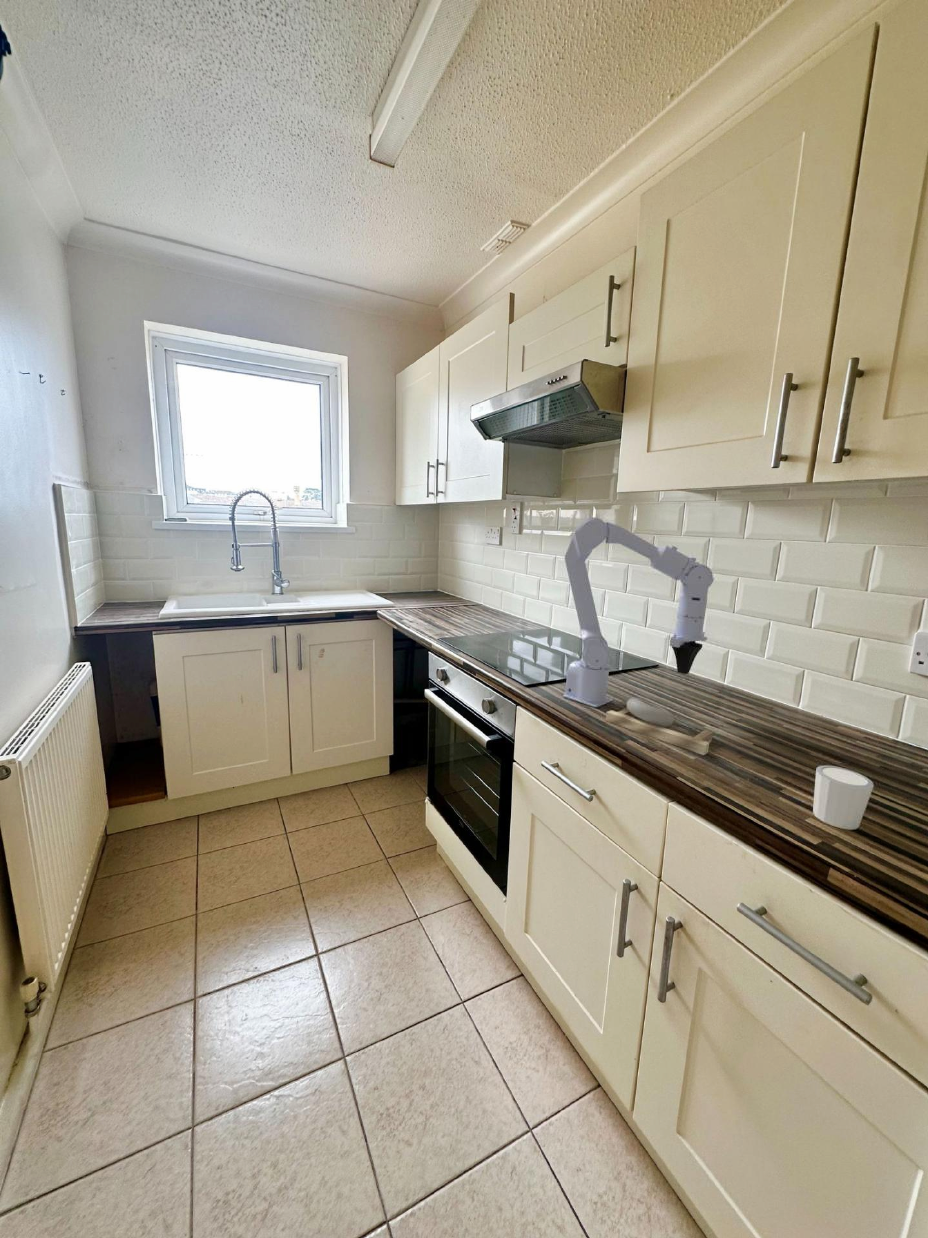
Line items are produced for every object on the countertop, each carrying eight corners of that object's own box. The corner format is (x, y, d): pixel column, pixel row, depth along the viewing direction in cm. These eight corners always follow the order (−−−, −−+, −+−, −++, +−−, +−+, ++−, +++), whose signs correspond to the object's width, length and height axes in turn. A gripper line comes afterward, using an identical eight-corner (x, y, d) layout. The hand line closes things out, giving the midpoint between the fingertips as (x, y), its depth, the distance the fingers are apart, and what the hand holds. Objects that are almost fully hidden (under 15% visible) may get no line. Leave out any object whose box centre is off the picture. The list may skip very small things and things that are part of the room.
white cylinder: (872, 837, 70) (882, 792, 69) (815, 824, 72) (823, 781, 71) (854, 812, 76) (863, 770, 75) (802, 801, 79) (810, 761, 77)
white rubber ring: (685, 719, 102) (644, 706, 100) (679, 734, 103) (638, 721, 101) (659, 703, 112) (621, 690, 110) (653, 717, 112) (616, 705, 110)
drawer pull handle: (605, 720, 108) (606, 712, 108) (623, 712, 114) (624, 704, 113) (703, 755, 94) (705, 745, 93) (719, 744, 99) (720, 734, 99)
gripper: (696, 621, 105) (687, 682, 107) (720, 615, 115) (712, 671, 117) (663, 616, 110) (656, 674, 112) (690, 611, 120) (682, 664, 122)
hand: (683, 672), depth 115 cm, fingers closed
